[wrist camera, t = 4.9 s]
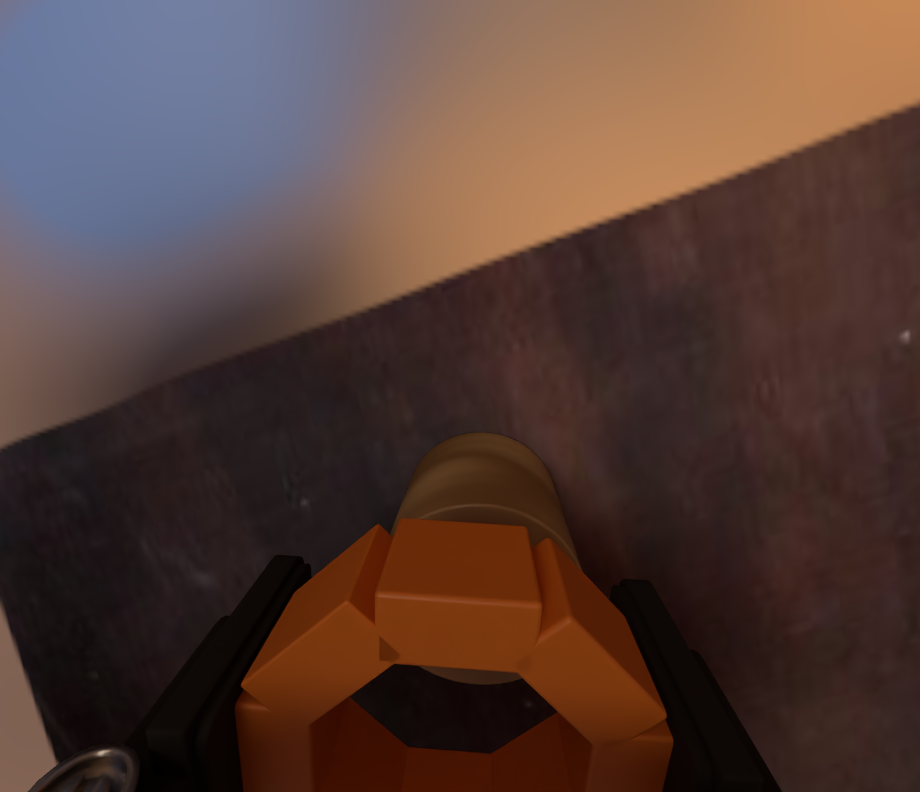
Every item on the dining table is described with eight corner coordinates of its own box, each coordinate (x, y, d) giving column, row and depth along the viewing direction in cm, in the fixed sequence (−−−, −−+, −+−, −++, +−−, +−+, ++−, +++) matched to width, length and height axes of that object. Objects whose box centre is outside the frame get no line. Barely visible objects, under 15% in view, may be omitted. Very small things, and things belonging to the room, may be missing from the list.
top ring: (297, 777, 10) (251, 903, 8) (280, 507, 8) (215, 582, 6) (600, 803, 9) (631, 938, 7) (650, 532, 8) (708, 617, 6)
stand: (406, 559, 16) (373, 676, 11) (409, 426, 15) (373, 496, 10) (547, 570, 16) (573, 695, 11) (563, 436, 15) (601, 513, 10)
